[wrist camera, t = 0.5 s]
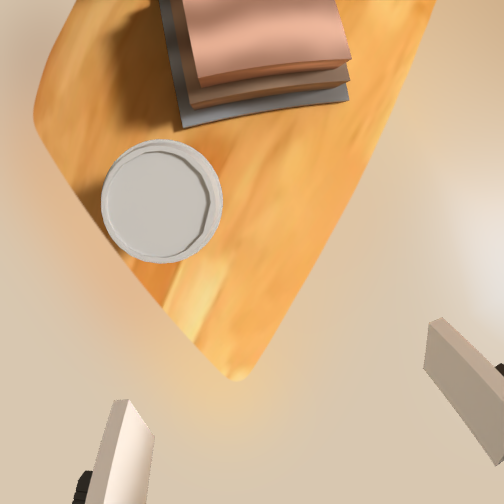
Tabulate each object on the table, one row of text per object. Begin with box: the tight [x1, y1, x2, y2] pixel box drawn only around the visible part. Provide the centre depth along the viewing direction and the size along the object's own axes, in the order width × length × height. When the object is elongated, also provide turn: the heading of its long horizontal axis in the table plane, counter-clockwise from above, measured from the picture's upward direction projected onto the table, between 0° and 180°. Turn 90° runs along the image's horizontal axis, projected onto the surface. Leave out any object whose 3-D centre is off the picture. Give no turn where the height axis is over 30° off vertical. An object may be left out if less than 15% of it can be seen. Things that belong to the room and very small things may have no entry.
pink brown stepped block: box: [159, 0, 352, 129], centre depth 23 cm, size 18×18×10 cm
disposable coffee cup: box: [101, 139, 223, 264], centre depth 27 cm, size 10×10×12 cm
